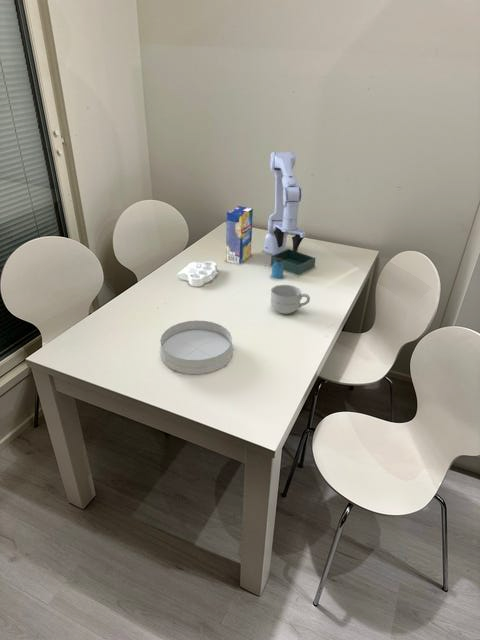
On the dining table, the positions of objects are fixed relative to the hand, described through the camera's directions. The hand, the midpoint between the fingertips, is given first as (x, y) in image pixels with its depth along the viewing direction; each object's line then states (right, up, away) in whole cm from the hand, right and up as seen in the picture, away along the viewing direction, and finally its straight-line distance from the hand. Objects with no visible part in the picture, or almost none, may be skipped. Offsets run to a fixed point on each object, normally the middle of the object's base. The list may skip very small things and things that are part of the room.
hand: (287, 249), depth 188 cm
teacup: (-2, -26, -23) cm, 35 cm away
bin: (+3, -6, +9) cm, 12 cm away
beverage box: (-20, -2, +16) cm, 26 cm away
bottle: (-4, -12, 0) cm, 12 cm away
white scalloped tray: (-36, -12, -1) cm, 38 cm away
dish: (-33, -39, -47) cm, 70 cm away
